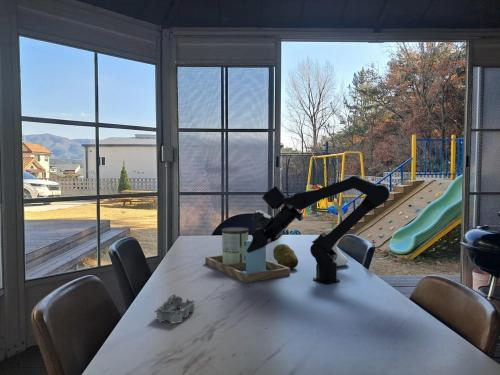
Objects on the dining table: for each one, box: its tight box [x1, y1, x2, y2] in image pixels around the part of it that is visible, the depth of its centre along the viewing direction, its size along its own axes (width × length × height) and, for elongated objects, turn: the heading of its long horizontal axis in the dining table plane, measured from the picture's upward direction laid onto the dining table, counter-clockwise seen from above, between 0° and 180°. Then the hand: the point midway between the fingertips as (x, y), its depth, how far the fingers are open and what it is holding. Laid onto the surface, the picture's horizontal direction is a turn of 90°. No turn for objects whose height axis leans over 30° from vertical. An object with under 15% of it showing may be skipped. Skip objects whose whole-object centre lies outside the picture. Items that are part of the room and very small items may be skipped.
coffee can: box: [221, 226, 250, 265], centre depth 152 cm, size 10×10×14 cm
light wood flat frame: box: [204, 254, 291, 284], centre depth 145 cm, size 31×18×2 cm, turn 32°
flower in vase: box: [326, 200, 349, 267], centre depth 152 cm, size 13×11×25 cm
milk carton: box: [245, 237, 267, 274], centre depth 139 cm, size 6×6×13 cm
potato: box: [272, 243, 299, 270], centre depth 149 cm, size 8×13×8 cm, turn 5°
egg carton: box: [153, 293, 197, 323], centre depth 99 cm, size 11×8×4 cm
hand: (252, 249), depth 139 cm, fingers open, 9 cm apart
